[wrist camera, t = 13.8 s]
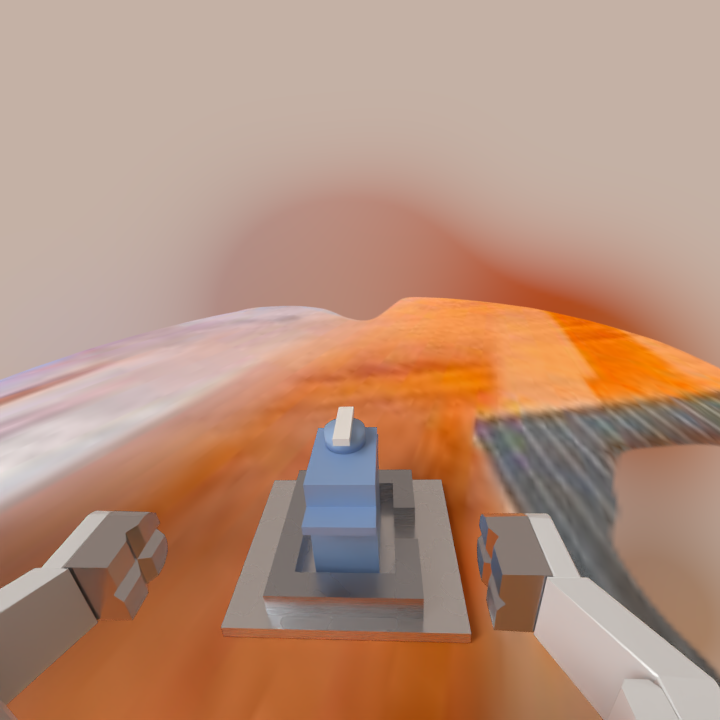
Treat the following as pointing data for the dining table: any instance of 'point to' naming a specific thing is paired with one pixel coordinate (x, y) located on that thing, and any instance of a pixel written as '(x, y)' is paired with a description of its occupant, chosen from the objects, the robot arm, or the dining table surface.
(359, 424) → the servo
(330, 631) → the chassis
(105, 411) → the dining table surface
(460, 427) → the dining table surface
